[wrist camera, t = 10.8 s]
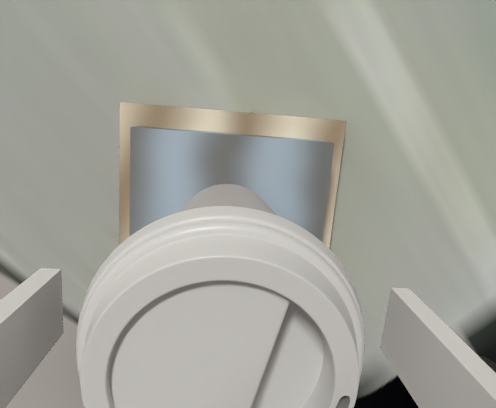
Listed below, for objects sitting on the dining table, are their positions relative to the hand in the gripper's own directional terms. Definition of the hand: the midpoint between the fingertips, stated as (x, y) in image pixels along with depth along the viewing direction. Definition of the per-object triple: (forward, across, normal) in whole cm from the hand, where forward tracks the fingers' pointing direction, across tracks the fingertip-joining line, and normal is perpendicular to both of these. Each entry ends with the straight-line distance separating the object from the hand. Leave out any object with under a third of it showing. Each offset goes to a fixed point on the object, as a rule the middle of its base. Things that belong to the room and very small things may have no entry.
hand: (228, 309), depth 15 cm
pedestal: (+15, 0, 0) cm, 15 cm away
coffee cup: (+11, 0, 0) cm, 11 cm away
